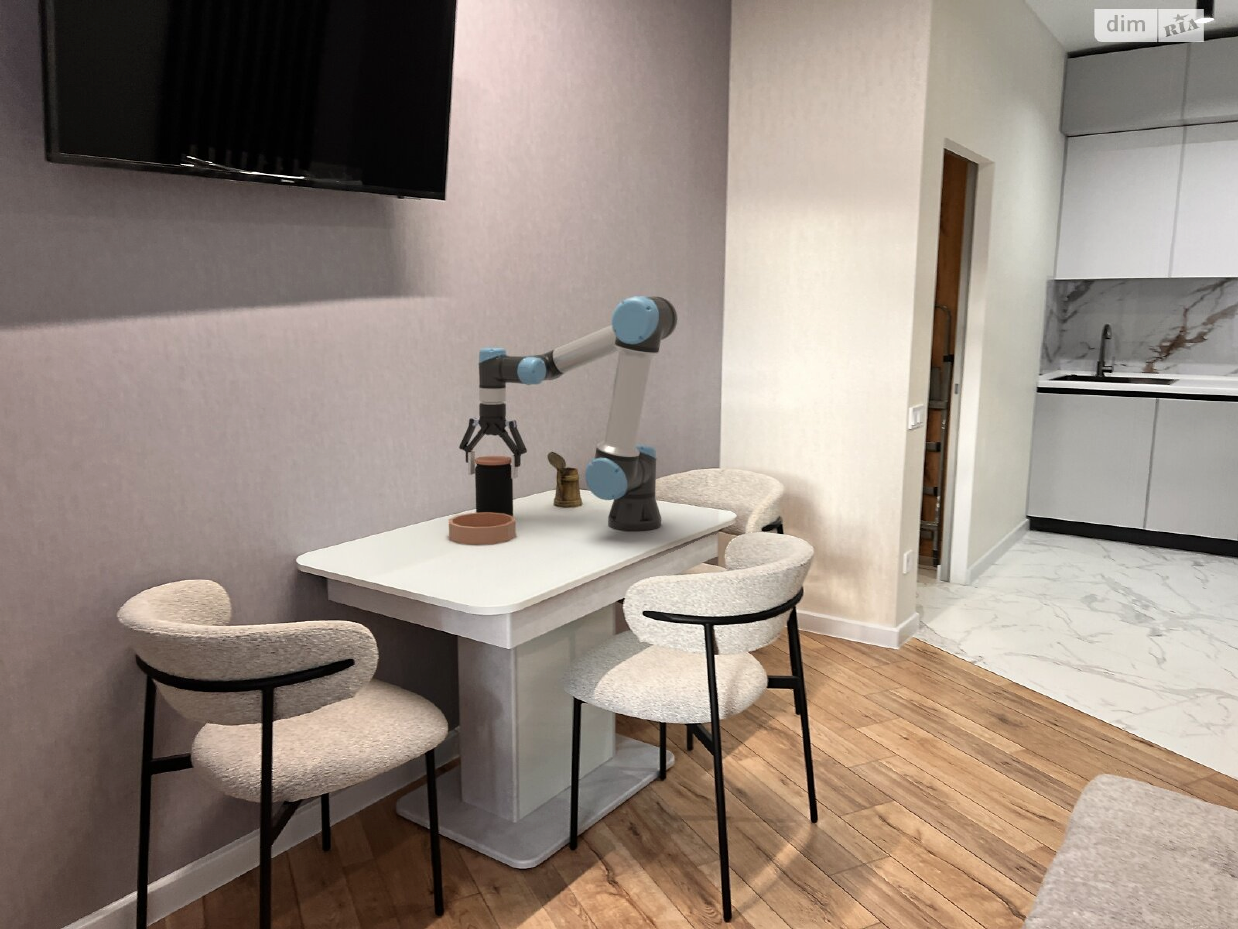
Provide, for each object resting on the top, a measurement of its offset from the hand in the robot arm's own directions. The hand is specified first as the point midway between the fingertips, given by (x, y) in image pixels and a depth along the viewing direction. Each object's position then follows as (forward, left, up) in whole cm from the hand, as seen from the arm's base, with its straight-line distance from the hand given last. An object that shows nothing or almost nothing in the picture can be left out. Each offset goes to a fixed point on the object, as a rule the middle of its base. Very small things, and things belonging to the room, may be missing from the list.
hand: (493, 476), depth 269 cm
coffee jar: (0, 0, -13) cm, 13 cm away
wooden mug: (-12, -24, -13) cm, 30 cm away
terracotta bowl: (-5, +18, -13) cm, 23 cm away
